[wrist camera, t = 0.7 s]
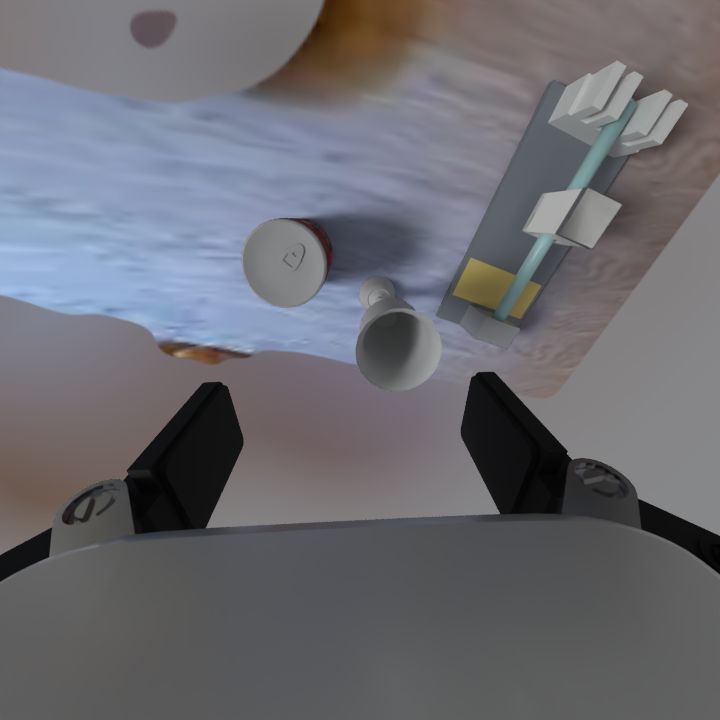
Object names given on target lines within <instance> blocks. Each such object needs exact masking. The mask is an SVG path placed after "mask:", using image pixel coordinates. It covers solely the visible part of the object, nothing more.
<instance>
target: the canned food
mask: <svg viewBox="0 0 720 720" xmlns="http://www.w3.org/2000/svg"><path fill="white" fill-rule="evenodd" d="M331 261H332V246H331V243H330V240H329V237H328V236H327V234H326V232H325V231H324V230H323V229H322V228H321V227H320V226H319V225H317V224H316V223H314V222H312V221H310V220H307V219H298V218H280V219H273V220H269V221H267V222H265V223H263V224H261V225H259V226H258V227H257V228H255V229H254V230H253V231H252V232H251V234H250V235H249V236H248V238H247V240H246V242H245V244H244V247H243V250H242V258H241V263H242V271H243V274H244V277H245V279H246V281H247V283H248V285H249V287H250V288H251V289H252V291H253V292H254V293H255V294H256V295H257V296H258V297H259V298H260V299H262V300H264V301H265V302H267V303H269V304H271V305H274V306H278V307H286V308H291V307H296V306H300V305H302V304H305V303H306V302H308V301H309V300H311V299H312V298H313V297H314V296H315V295H316V294H317V293H318V292H319V290H320V289H321V287H322V286H323V284H324V281H325V279H326V276H327V273H328V271H329V268H330V265H331Z"/></svg>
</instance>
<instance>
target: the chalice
mask: <svg viewBox="0 0 720 720" xmlns="http://www.w3.org/2000/svg"><path fill="white" fill-rule="evenodd" d="M359 299H360V302H361V305H362V306H363V307H364V308H365V309H366V312H365V314H364V315H363V317H362V320H361V324H360V335H359V337H358V341H357V345H356V360H357V364H358V366H359V368H360V371H361V373H362V374H363V375H364V376H365V378H366V379H367V380H368V381H369V382H370V383H372V384H374V385H375V386H377V387H379V388H380V389H385V390H389V391H405V390H408V389H411V388H414V387H416V386H418V385H420V384H421V383H423V382H424V381H425V380H427V379H428V378H429V377H430V376H431V374H432V373H433V372H434V371H435V369H436V367H437V365H438V362H439V360H440V357H441V347H442V343H441V339H440V335H439V331H438V330H437V328H436V327H435V325H434V324H433V322H432V321H431V320H430V319H429V318H427V317H426V316H425V315H423V314H422V313H420V312H417V311H416V310H415V309H414V308H413V307H412V306H411V305H410V304H408V303H407V302H406V301H404V300H400V299H397V298H395V288H394V285H393V284H392V283H391V281H389V280H388V279H387V278H384V277H381V276H376V277H372V278H369V279H368V280H366V281H365V282H364V283H363V285H362V286H361V288H360V292H359Z"/></svg>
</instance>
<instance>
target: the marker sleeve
mask: <svg viewBox="0 0 720 720" xmlns="http://www.w3.org/2000/svg"><path fill="white" fill-rule="evenodd" d="M622 205H623V204H622V203H620V202H618V201H616V200H613V199H611V198H609V197H607V196H605V195H603V194H601V193H599V192H597V191H595V190H593V189H591V188H589V187H584V188H583V189H575V190H567V191H559V192H551V193H543V194H542V195H541V197H540V199H539V201H538V202H537V204H536V206H535V208H534V210H533V211H532V213H531V215H530V217H529V219H528V220H527V222H526V224H525V226H524V228H523V229H522V232H525V233H527V234H529V235H532V236H534V237H536V238H538V237H539V235H545V236H548V237H550V238H552V239H555V240H554V241H553V243H552V244H560V245H568V246H576V247H584V248H587V249H593V248H594V246H595V245H596V243H597V242H598V240H599V239H600V237H601V236H602V234H603V233H604V231H605V230H606V229H607V227H608V226H609V224H610V223H611V221H612V220H613V218H614V217H615V215H616V214H617V212H618V211H619V209H620V208H621V207H622Z"/></svg>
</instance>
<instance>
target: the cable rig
mask: <svg viewBox="0 0 720 720" xmlns="http://www.w3.org/2000/svg"><path fill="white" fill-rule="evenodd" d="M625 68H626V66H625V65H624V64H622V63H620V62H619V61H616V62H614V63H612V64H611V65H609V66H607V67H605V68H604V69H602V70H600V71H599V72H597V73H595V74H593V75H591V74H590V73H588V74H587V75H585V76H583V77H582V78H580V79H578V80H577V81H575V82H573V83H572V84H570V85H568V86H567V87H566V86H564V85H562V84H561V83H559V82H557V81H555V80H553V81H552V82H550V83H549V84H548V86H547V88H546V91H545V93H544V95H543V97H542V99H541V101H540V103H539V105H538V107H537V109H536V111H535V113H534V115H533V117H532V119H531V121H530V123H529V125H528V127H527V129H526V131H525V134H524V136H523V138H522V140H521V142H520V144H519V146H518V148H517V150H516V152H515V154H514V156H513V158H512V160H511V162H510V164H509V166H508V168H507V170H506V172H505V174H504V176H503V179H502V181H501V183H500V185H499V187H498V189H497V191H496V193H495V195H494V197H493V199H492V201H491V203H490V205H489V207H488V209H487V211H486V213H485V215H484V217H483V219H482V222H481V224H480V226H479V228H478V230H477V232H476V234H475V236H474V238H473V240H472V242H471V244H470V246H469V248H468V250H467V252H466V254H465V256H464V258H463V260H462V262H461V264H460V267H459V269H458V271H457V273H456V275H455V277H454V279H453V281H452V283H451V285H450V287H449V289H448V291H447V293H446V295H445V297H444V299H443V301H442V303H441V305H440V307H439V310H438V312H437V314H436V316H437V317H439V318H442V319H445V320H448V321H451V322H454V323H457V324H459V325H460V326H462V327H463V328H464V329H465V330H466V331H467V332H468V333H469V334H470V335H471V336H472V337H473V338H474V339H477V340H480V341H483V342H486V343H489V344H492V345H495V346H498V347H501V348H504V349H508V348H509V346H510V345H511V343H512V342H513V340H514V339H515V337H516V336H517V334H518V333H519V331H520V330H521V329H520V328H519V325H520V324H521V322H522V320H523V319H524V317H525V316H526V314H527V313H528V311H529V310H530V308H531V307H532V305H533V303H534V302H535V300H536V299H537V297H538V296H539V294H540V293H541V291H542V289H543V288H544V286H545V285H546V283H547V282H548V280H549V279H550V277H551V276H552V274H553V272H554V271H555V269H556V268H557V266H558V265H559V263H560V262H561V260H562V258H563V257H564V255H565V254H566V252H567V251H568V249H569V248H570V246H568V245H560V244H552V243H553V241H554V240H555V239H552V238H550V237H548V236H545V235H539V237H538V238H536V237H534V236H532V235H529V234H527V233H525V232H522V229H523V228H524V226H525V224H526V222H527V220H528V219H529V217H530V215H531V213H532V211H533V210H534V208H535V206H536V204H537V202H538V201H539V199H540V197H541V195H542V194H543V193H551V192H559V191H567V190H575V189H583V188H584V187H589V188H591V189H593V190H595V191H597V192H599V193H601V194H603V195H604V193H605V192H606V190H607V189H608V187H609V186H610V184H611V183H612V181H613V179H614V178H615V176H616V175H617V173H618V172H619V170H620V169H621V167H622V165H623V164H624V162H625V161H626V159H627V158H628V156H629V155H630V154H633V153H637V152H639V150H640V149H644V148H648V147H653V146H657V145H661V144H662V143H663V141H664V140H665V138H666V137H667V135H668V134H669V132H670V131H671V129H672V128H673V127H674V125H675V124H676V122H677V121H678V119H679V118H680V116H681V115H682V113H683V112H684V110H685V109H686V107H687V106H688V104H687V103H685V102H684V101H682V100H677V101H674V102H672V103H669V104H667V103H668V101H669V100H670V98H671V97H672V94H671V93H669V92H667V91H666V90H662V91H660V92H657V93H655V94H652V95H650V96H647V97H645V98H642V99H640V100H637V101H635V100H634V99H632V98H631V97H632V95H633V93H634V92H635V90H636V88H637V87H638V85H639V83H640V82H641V80H642V78H643V76H642V75H640V74H638V73H637V72H635V71H634V72H632V73H630V74H628V75H626V76H624V77H622V78H620V77H621V75H622V73H623V71H624V70H625ZM619 78H620V79H619Z"/></svg>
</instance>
